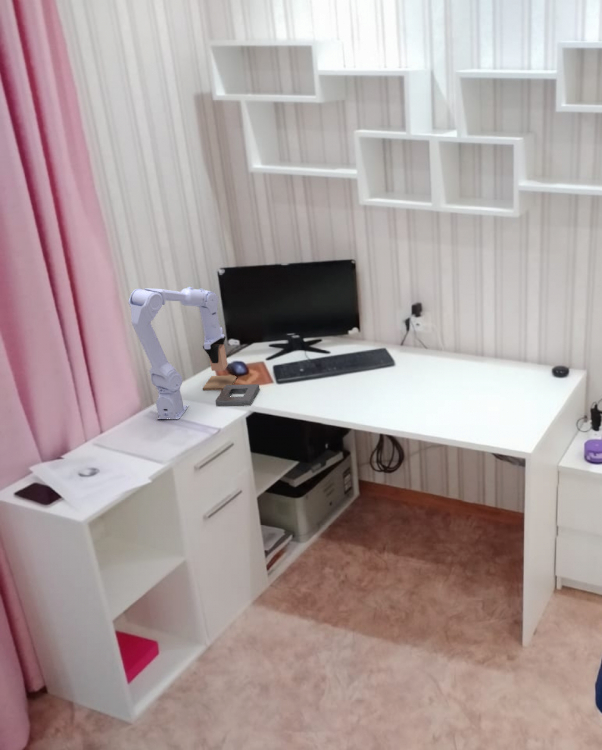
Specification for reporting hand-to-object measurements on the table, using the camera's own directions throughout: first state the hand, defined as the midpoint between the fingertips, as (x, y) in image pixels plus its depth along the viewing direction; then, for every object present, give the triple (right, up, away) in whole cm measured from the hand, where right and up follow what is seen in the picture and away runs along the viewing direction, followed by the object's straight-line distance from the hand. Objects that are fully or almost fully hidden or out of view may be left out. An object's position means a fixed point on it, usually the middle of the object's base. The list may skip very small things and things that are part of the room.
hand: (217, 359), depth 305 cm
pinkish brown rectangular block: (+1, -3, +1) cm, 3 cm away
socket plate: (+8, -13, -7) cm, 17 cm away
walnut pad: (0, -8, +5) cm, 10 cm away
